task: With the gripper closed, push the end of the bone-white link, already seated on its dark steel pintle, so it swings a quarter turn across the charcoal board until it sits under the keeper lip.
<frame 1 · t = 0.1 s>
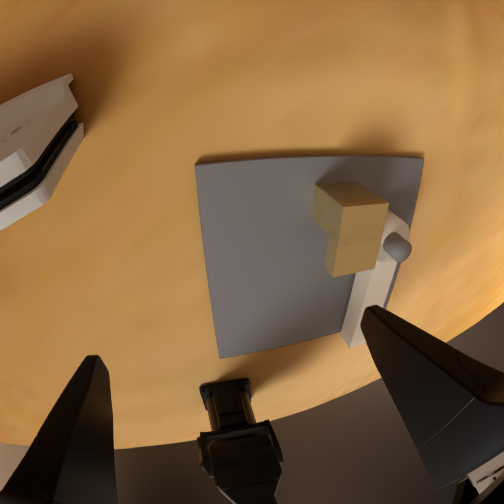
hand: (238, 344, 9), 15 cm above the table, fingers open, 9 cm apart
board: (318, 263, 27), on the table
link: (375, 291, 27), point 3 cm above the table, hinge at 0.0°
keeper: (331, 196, 24), resting on board
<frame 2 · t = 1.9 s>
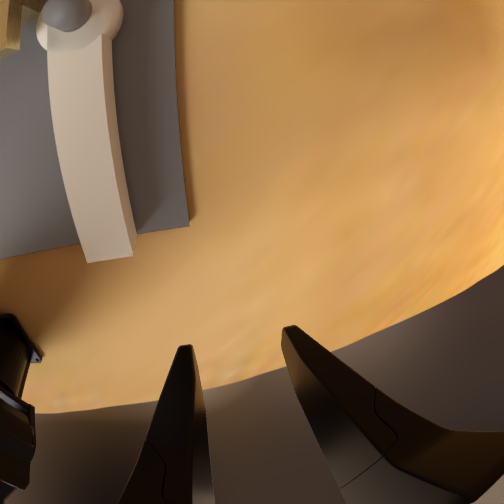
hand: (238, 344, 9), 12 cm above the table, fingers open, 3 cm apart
board: (18, 102, 12), on the table
link: (80, 120, 11), point 3 cm above the table, hinge at 0.0°
keeper: (23, 9, 8), resting on board
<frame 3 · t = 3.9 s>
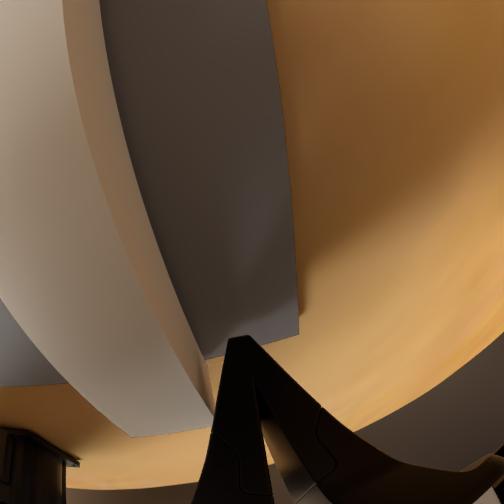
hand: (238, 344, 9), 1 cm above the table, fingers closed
link: (17, 179, 3), point 3 cm above the table, hinge at -0.1°, touching gripper
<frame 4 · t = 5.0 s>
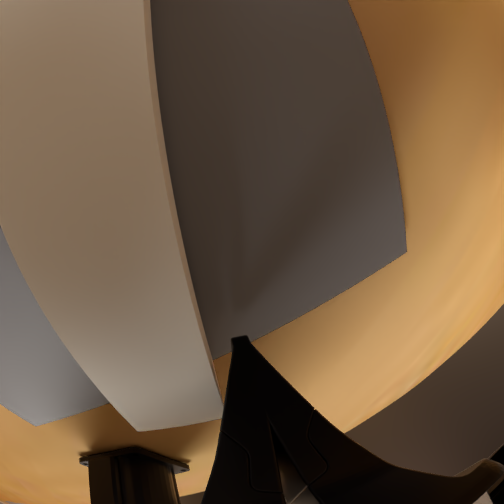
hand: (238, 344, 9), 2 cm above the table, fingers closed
link: (65, 156, 4), point 3 cm above the table, hinge at -20.4°, touching gripper
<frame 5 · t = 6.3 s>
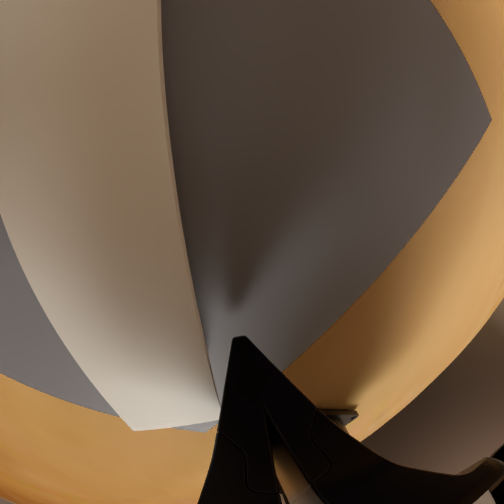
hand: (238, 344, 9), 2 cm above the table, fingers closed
board: (79, 155, 6), on the table
link: (71, 151, 4), point 3 cm above the table, hinge at -49.3°, touching gripper
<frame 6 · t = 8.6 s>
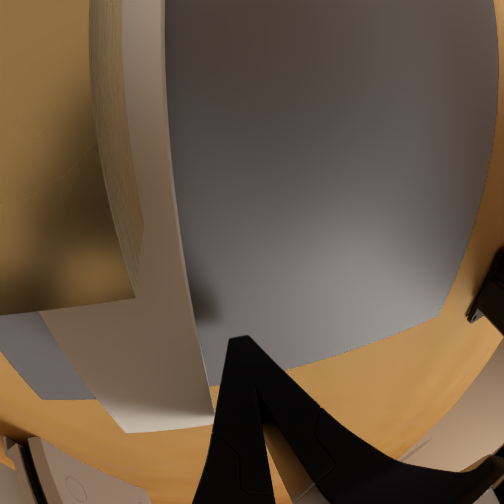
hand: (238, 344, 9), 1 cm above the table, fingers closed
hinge: (92, 468, 17), on the table
board: (252, 92, 6), on the table
link: (69, 150, 3), point 3 cm above the table, hinge at -90.7°, touching gripper
keeper: (0, 125, 5), resting on board
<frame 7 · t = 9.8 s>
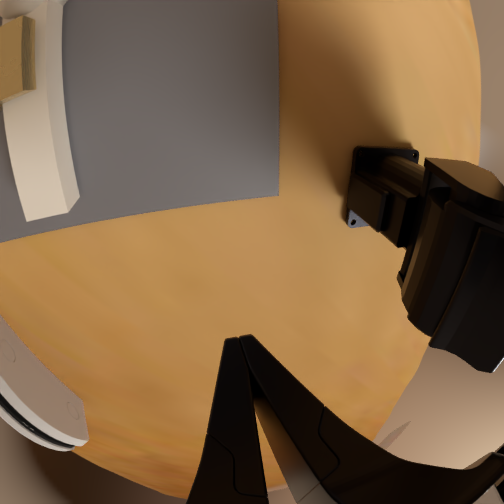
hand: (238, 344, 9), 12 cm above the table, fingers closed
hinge: (35, 360, 23), on the table
board: (98, 54, 12), on the table
link: (24, 76, 9), point 3 cm above the table, hinge at -90.6°
keeper: (6, 80, 10), resting on board
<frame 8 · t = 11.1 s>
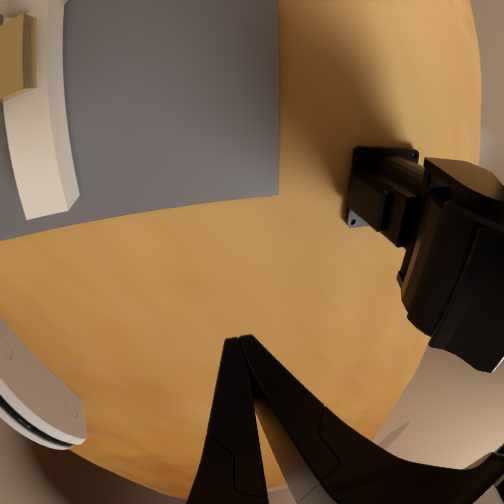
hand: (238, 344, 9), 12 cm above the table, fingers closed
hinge: (33, 358, 23), on the table
board: (99, 53, 12), on the table
link: (25, 74, 9), point 3 cm above the table, hinge at -90.6°
keeper: (6, 78, 10), resting on board
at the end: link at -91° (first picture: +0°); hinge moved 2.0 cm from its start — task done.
